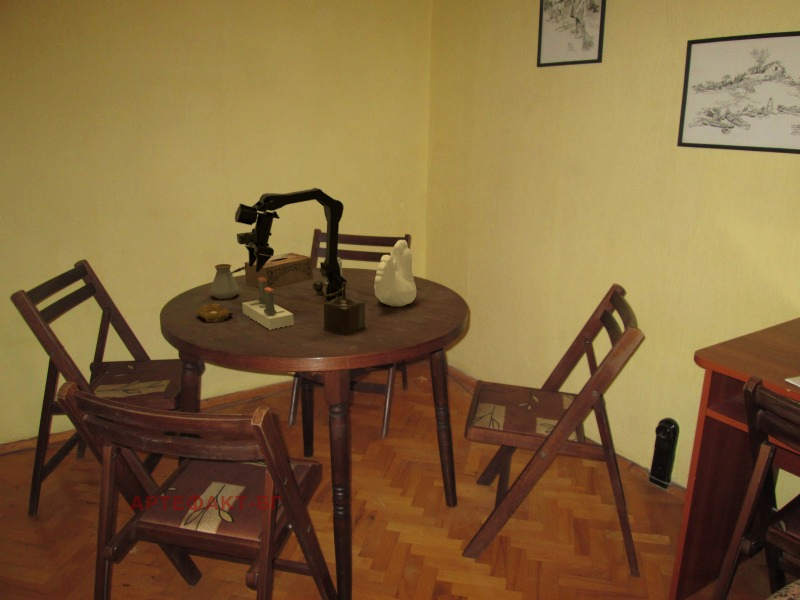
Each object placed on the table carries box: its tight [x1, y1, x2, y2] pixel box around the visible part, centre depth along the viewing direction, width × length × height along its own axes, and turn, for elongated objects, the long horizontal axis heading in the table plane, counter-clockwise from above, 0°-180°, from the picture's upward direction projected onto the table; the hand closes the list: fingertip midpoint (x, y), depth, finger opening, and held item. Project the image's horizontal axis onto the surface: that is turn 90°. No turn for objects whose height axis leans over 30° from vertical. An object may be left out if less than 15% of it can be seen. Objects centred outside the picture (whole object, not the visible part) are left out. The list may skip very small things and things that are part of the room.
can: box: [324, 256, 343, 286], centre depth 262 cm, size 8×8×12 cm
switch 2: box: [264, 287, 276, 315], centre depth 210 cm, size 3×4×9 cm
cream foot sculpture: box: [373, 239, 417, 307], centre depth 232 cm, size 25×16×25 cm, turn 143°
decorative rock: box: [195, 303, 234, 324], centre depth 221 cm, size 11×4×15 cm
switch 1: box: [257, 277, 267, 303], centre depth 223 cm, size 3×4×9 cm
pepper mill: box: [311, 280, 366, 336], centre depth 205 cm, size 16×11×18 cm
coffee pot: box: [209, 263, 249, 300], centre depth 240 cm, size 21×12×15 cm, turn 51°
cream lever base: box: [241, 299, 295, 331], centre depth 218 cm, size 9×23×4 cm, turn 37°
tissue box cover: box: [244, 252, 314, 289], centre depth 268 cm, size 26×14×10 cm, turn 139°
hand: (253, 269), depth 224 cm, fingers open, 9 cm apart
